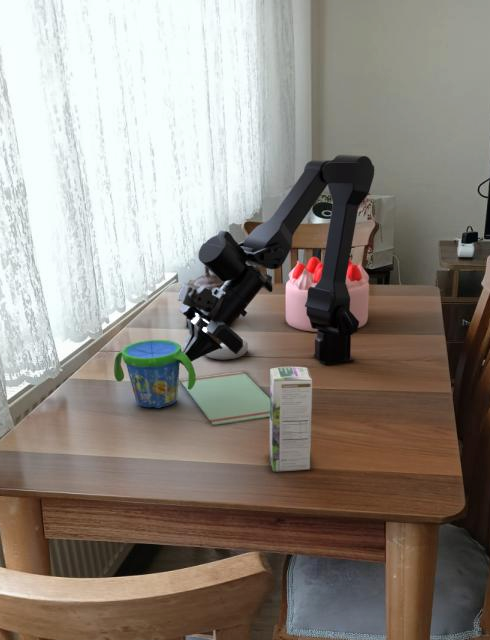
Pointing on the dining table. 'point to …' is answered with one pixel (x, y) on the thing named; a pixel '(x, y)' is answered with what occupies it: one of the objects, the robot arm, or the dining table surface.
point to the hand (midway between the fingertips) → (180, 363)
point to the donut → (228, 352)
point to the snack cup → (154, 371)
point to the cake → (309, 277)
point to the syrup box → (290, 418)
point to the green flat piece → (229, 398)
